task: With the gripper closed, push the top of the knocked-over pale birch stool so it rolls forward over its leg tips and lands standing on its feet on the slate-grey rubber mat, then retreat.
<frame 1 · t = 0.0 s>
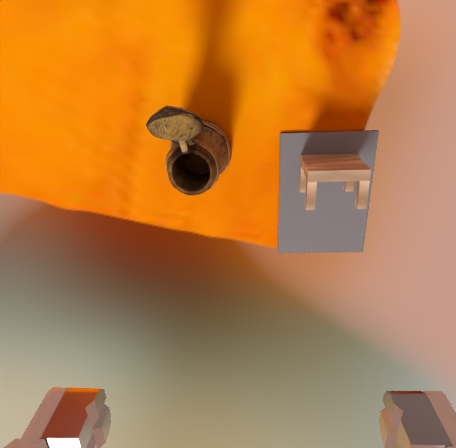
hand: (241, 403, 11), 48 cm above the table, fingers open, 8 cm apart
stool: (327, 159, 56), resting on mat
wooden mug: (199, 135, 56), on the table
mat: (324, 196, 59), on the table
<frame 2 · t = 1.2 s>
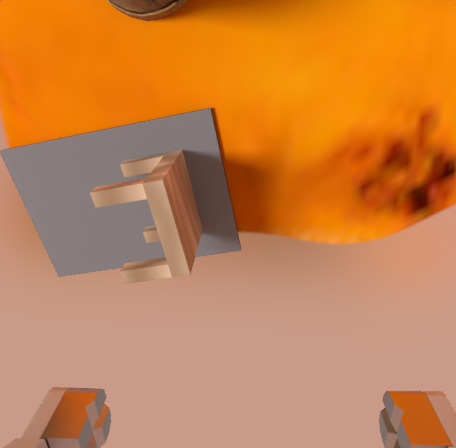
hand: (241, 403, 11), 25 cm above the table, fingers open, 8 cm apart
stool: (185, 192, 35), resting on mat
mat: (126, 201, 36), on the table
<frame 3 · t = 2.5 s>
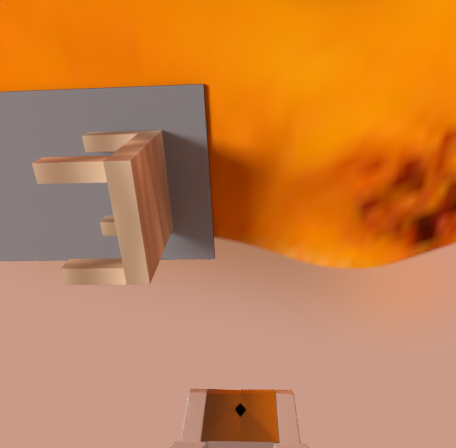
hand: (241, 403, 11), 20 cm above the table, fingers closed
stool: (158, 182, 29), resting on mat
mat: (84, 182, 30), on the table
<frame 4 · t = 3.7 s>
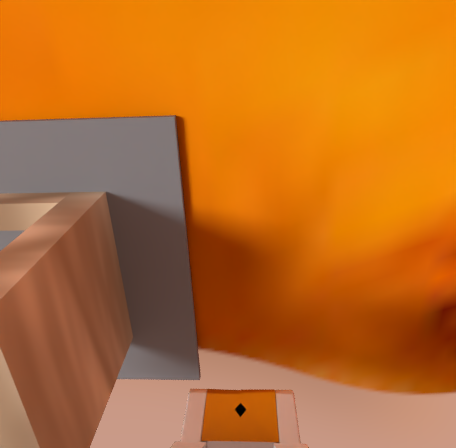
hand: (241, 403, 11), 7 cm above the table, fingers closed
stool: (105, 271, 18), resting on mat
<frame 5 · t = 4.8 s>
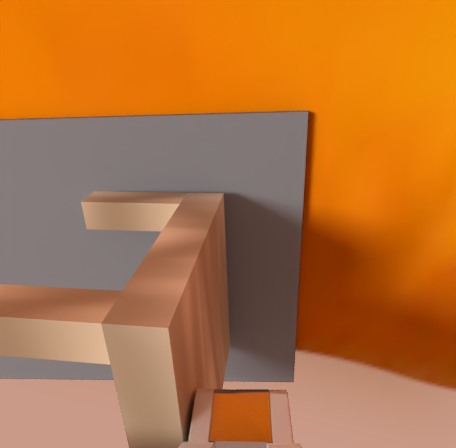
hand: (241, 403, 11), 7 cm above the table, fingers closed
stool: (210, 276, 17), point 1 cm above the table, tilted 5°, touching gripper, mat
mat: (86, 268, 18), on the table
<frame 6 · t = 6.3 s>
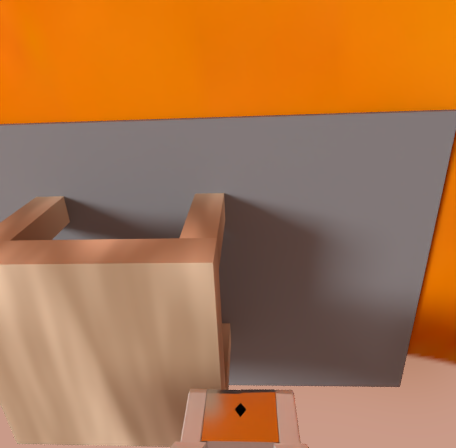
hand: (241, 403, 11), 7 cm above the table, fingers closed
stool: (221, 351, 13), point 5 cm above the table, tilted 90°, touching mat
mat: (201, 271, 18), on the table
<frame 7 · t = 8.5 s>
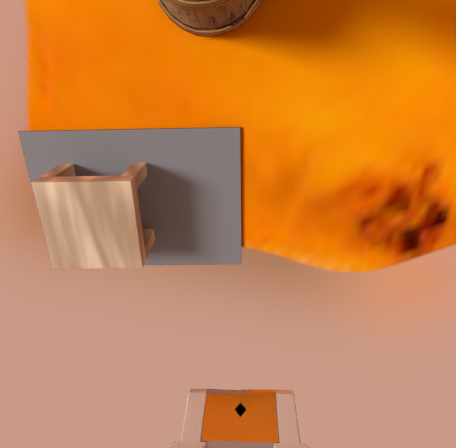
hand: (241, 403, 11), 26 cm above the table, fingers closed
stool: (138, 223, 32), point 5 cm above the table, tilted 90°, touching mat
mat: (138, 201, 37), on the table
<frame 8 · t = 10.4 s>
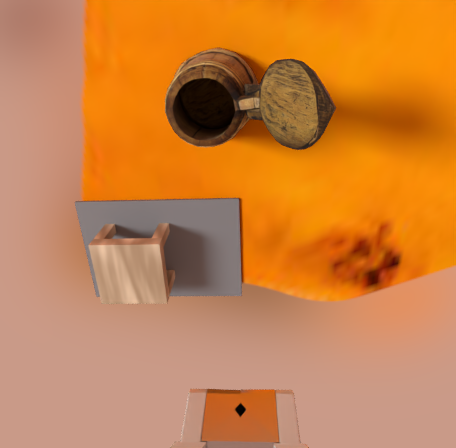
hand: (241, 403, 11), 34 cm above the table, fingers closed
stool: (164, 271, 44), point 5 cm above the table, tilted 90°, touching mat
wooden mug: (235, 91, 40), on the table
mat: (162, 250, 48), on the table
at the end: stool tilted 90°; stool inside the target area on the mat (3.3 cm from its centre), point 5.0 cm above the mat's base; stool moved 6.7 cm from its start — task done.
